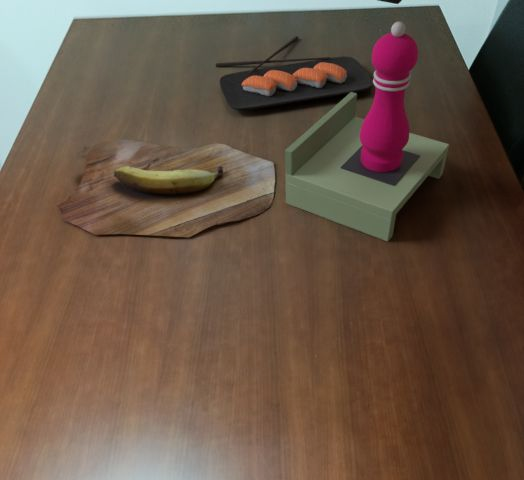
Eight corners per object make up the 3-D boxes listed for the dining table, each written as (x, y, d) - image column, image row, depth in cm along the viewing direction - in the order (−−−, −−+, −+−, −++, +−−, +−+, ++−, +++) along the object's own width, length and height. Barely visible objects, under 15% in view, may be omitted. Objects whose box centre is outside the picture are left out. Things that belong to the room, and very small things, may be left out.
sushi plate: (231, 120, 110) (229, 100, 107) (204, 52, 128) (201, 34, 125) (377, 96, 113) (379, 76, 110) (329, 33, 132) (330, 15, 129)
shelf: (442, 174, 96) (454, 120, 89) (387, 242, 86) (396, 187, 79) (346, 143, 103) (350, 91, 96) (285, 203, 93) (284, 149, 86)
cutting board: (42, 235, 90) (34, 215, 87) (92, 139, 107) (86, 120, 104) (267, 243, 87) (266, 222, 84) (281, 143, 104) (281, 123, 101)
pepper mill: (392, 180, 86) (414, 38, 71) (348, 166, 89) (360, 27, 73) (412, 156, 90) (437, 16, 74) (370, 143, 93) (385, 6, 77)
